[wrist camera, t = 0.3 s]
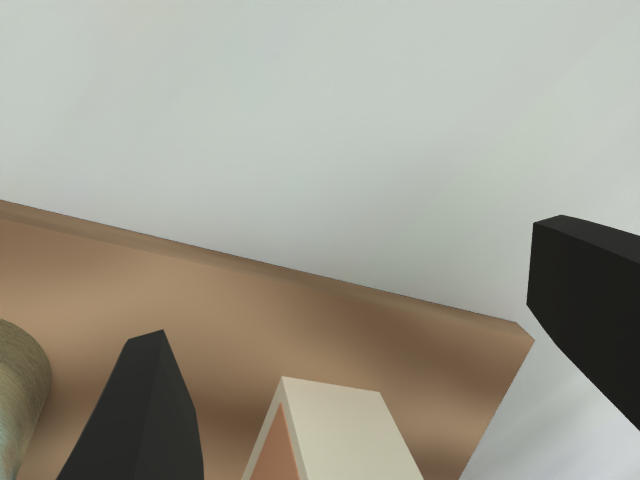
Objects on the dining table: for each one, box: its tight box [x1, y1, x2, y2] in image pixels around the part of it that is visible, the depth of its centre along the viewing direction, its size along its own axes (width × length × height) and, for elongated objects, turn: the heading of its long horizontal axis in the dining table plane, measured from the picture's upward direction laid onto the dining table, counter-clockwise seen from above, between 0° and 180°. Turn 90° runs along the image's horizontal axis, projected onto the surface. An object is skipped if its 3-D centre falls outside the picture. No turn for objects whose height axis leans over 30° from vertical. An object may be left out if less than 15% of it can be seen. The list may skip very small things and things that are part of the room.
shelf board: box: [0, 200, 535, 480], centre depth 21 cm, size 14×25×4 cm, turn 70°
